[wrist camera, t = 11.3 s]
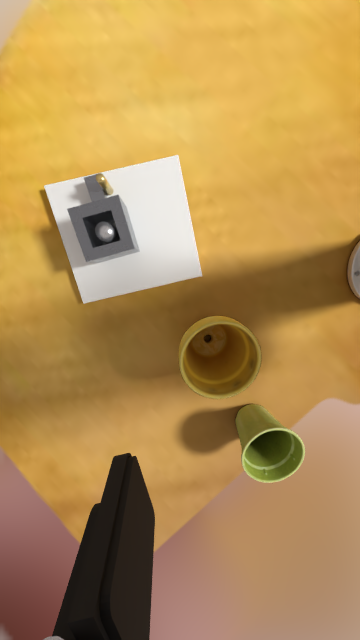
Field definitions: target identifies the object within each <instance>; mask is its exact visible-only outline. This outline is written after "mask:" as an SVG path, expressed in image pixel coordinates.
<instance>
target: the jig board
mask: <svg viewBox="0 0 360 640" xmlns="http://www.w3.org/2000/svg"><path fill="white" fill-rule="evenodd" d="M97 174H98V173H97ZM101 174H103V175H104V177H105V178H106V179H107V181H108V182H109V184H110V185H111V187H112V188H113V191H114V192H113V194H112V195H108V194H107V193H106V195H107V198H108V197H111V196H115V195H119V196H120V198H121V199H122V201H123V202H124V204H125V205H126V207H127V210H128V213H129V217H130V220H131V223H132V227H133V230H134V233H135V237H136V240H137V243H138V247H139V250H140V252H136V253H133V254H129V255H126V256H122V257H118V258H115V259H111V260H108V261H104V262H101V263H93V262H86V260H85V258H84V255H83V252H82V249H81V247H80V244H79V241H78V238H77V236H76V233H75V230H74V227H73V225H72V222H71V219H70V216H69V213H68V211H67V209H68V208H72V207H76V206H79V205H83V204H86V203H90V202H92V201H91V198H90V195H89V192H88V189H87V186H86V183H85V181H84V177H88V176H84V177H80V178H75V179H71V180H67V181H62V182H58V183H54V184H49V185H45V186H44V187H45V190H46V193H47V196H48V199H49V202H50V205H51V208H52V211H53V214H54V217H55V220H56V223H57V226H58V229H59V232H60V235H61V238H62V241H63V244H64V247H65V250H66V253H67V256H68V259H69V262H70V265H71V268H72V271H73V274H74V277H75V280H76V283H77V286H78V289H79V292H80V295H81V298H82V301H83V304H84V303H88V302H93V301H97V300H101V299H106V298H110V297H114V296H118V295H123V294H127V293H131V292H136V291H140V290H144V289H148V288H153V287H157V286H161V285H165V284H170V283H174V282H178V281H183V280H187V279H191V278H195V277H200V276H202V272H201V267H200V262H199V257H198V252H197V247H196V242H195V237H194V232H193V227H192V222H191V217H190V212H189V207H188V202H187V197H186V192H185V187H184V182H183V177H182V172H181V167H180V162H179V156H178V155H176V156H171V157H167V158H162V159H158V160H154V161H149V162H145V163H141V164H136V165H132V166H128V167H123V168H119V169H115V170H110V171H106V172H102V173H101ZM93 175H95V174H93ZM89 176H92V175H89ZM110 224H111V225H112V226H114V227H115V228H116V229H117V227H116V224H115V221H113V222H110ZM102 244H103V245H106V244H109V243H106V242H104V241H102Z"/></svg>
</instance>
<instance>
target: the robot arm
mask: <svg viewBox="0 0 360 640" xmlns="http://www.w3.org/2000/svg"><path fill="white" fill-rule="evenodd" d="M348 281H349V285H350V287H351V290H352V291H353V293H354V294H355V295H356V296H357V297H358V298H359V299H360V241H359V242H358V244H357V245H356V246H355V248H354V250H353V252H352V254H351V257H350V259H349V264H348ZM154 527H155V515H154V509H153V506H152V503H151V500H150V497H149V494H148V491H147V488H146V485H145V482H144V478H143V475H142V472H141V469H140V466H139V463H138V460H137V457H136V456H133V457H132V456H131V454H130V453H126V454H122V455H118V456H114V458H113V460H112V464H111V467H110V471H109V475H108V478H107V482H106V485H105V489H104V492H103V496H102V500H101V503H97V504H95V505H94V506H93V508H92V510H91V512H90V515H89V519H88V522H87V525H86V528H85V531H84V535H83V538H82V541H81V544H80V548H79V551H78V554H77V557H76V560H75V564H74V567H73V570H72V573H71V577H70V580H69V583H68V586H67V590H66V593H65V596H64V599H63V602H62V606H61V609H60V612H59V615H58V618H57V622H56V625H55V629H54V631H53V635H52V637H47V638H45V639H44V640H149V633H150V611H151V590H152V568H153V548H154Z"/></svg>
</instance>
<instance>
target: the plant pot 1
mask: <svg viewBox="0 0 360 640" xmlns="http://www.w3.org/2000/svg"><path fill="white" fill-rule="evenodd" d="M205 335H211V340H210V341H209V342H206V341H205V340H204V336H205ZM178 359H179V368H180V372H181V375H182V378H183V379H184V381H185V383H186V384H187V385H188V386H189V387H190V388H191V389H192V390H193V391H194V392H196V393H197V394H199V395H201V396H204V397H207V398H212V399H224V398H229V397H232V396H235V395H237V394H239V393H241V392H242V391H244V390H245V389H246V388H248V387H249V386H250V385H251V383H252V382H253V381H254V380H255V378H256V376H257V374H258V372H259V369H260V365H261V349H260V345H259V343H258V341H257V339H256V337H255V336H254V334H253V333H252V332H251V331H250V330H249V329H248V328H247V327H246V326H244V325H243V324H241V323H240V322H238V321H236V320H234V319H232V318H229V317H225V316H211V317H207V318H204V319H201V320H199V321H197V322H196V323H194V324H193V325H192V326H191V327H190V328H189V329H188V330H187V331H186V332H185V334H184V336H183V337H182V340H181V342H180V346H179V353H178Z"/></svg>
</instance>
